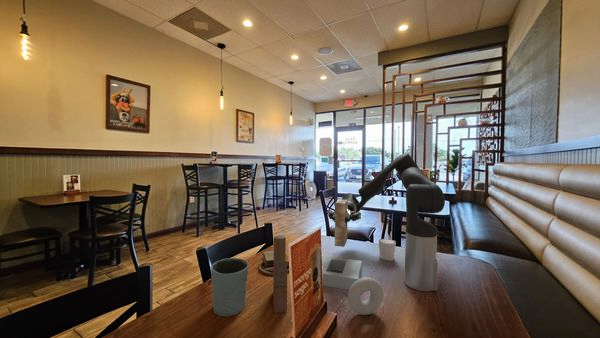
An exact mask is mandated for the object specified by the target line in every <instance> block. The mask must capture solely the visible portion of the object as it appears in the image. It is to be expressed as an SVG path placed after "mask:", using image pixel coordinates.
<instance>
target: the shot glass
mask: <svg viewBox="0 0 600 338" xmlns="http://www.w3.org/2000/svg"><path fill="white" fill-rule="evenodd" d="M396 245H397V242H396V240H393V239H390V238H381V239H378V248H379V251H378V252H379V258H380V259H381V258H382V260H385V261H394V260H395V251H396Z"/></svg>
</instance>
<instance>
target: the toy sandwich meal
mask: <svg viewBox="0 0 600 338" xmlns="http://www.w3.org/2000/svg"><path fill="white" fill-rule="evenodd" d="M288 258H289V257H288V255H287V254H286V261H287V273H288V272H289V271H290V270H289V261H290V260H289V261H288ZM260 260H261V261H262V262H261V263H260V264H259V265H258V266H259V267H258V268H259V270H260V271H261V272H262V273H263V274H266V275H270V276H273V272H274V249H273V250H267V251H263V253H262V257H261V259H260Z"/></svg>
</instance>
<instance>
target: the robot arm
mask: <svg viewBox="0 0 600 338" xmlns="http://www.w3.org/2000/svg"><path fill="white" fill-rule="evenodd" d="M394 170H395V171H396V173H397V174H398V175H399V177H400V178H401V183H402V186H403V187H404V189H405V208H406V209H405V210H406V211H405V212H406V215H405V216H406V217H405V218H406V219H405V225H406V226H405V247H404V248H405V250H404V251H405V254H404V283H405V285H406V286H408V287H409V288H410V289H413V290H416V291H420V292H432V291H434V292H436V291H437V289H438V269H439V267H438V265H439V263H438V260H437V252H438V251H437V247H438V226H436V225H435V224H434V223H431V222H429V221H427V220H423V219H422V218H420V217H419V216H418V213H420V214H439V213H441V212H442V211H443V209H444V208H445V206H446V197H445V194H444V191H443V190H442V189H441V187H440V186H439V184H437V183H435V182H433V181H432V180H431V179H430V178H429V177H428V176H427V174H426V173H425V172H424V171H423V170H422V169H420V168H419V166H418V164H417V163H416V162H415V160H414V159H413V158H412V155H410V154H409V153H406V152H405V153H401V154H400V155H399V156H397V157H396V158H394V159H393V160H392V161H391V162H390V163H389V164H388V165H386V166H385V167H384V168H383V169H382V170H381V171H380V172H379V173H378V174H377V175H376V176H374V178H373V179H371V180H370V181H369V182H367V183H366V184H364V185H362V186H361V187H360V188H359V189H358V191H357V193H358V194H359V197H360V201H359V199H358V198H356V196H355V195H354V194H353V193H351V192H348V193H345V194H344V195H343V196H342V197H341V199H343V200H348V212H347V215H346V217H345V223H347V224H348V223H349V222H351V221H352V222H357V221H358V220H361V218H362V212H361V210H362V209H363V207H364V206H365V205H366V204H367V203H368V202H369V201H370V200H372V199H373V198H374V197H375V196H376V195H378V194H379V193H380V192H382V190H383V188H384V186H385V184H386V181H387V179H388V177H389V176H390V174H391V173H392V171H394ZM327 217H328V218H329V220H332V221H333V222H334V223H335V210H334V211H333V210H331V209H328V210H327Z"/></svg>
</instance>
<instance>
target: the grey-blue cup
mask: <svg viewBox="0 0 600 338" xmlns="http://www.w3.org/2000/svg"><path fill="white" fill-rule="evenodd" d="M210 274H211V275H210V277H211V285H212V287H211V288H212V290H211V291H212V309H213V312H214V314H216V315H217V316H220V317H231V316H234V315H238V314H240V313H241V312H242V311H243V310H244V308H245V307H246V299H247V286H248V285H247V284H248V283H247V281H248V274H249V261H247V260H245V259H243V258H239V257H238V258H237V257H229V258H223V259H220V260H217V261H215V262H213V263H212V264H211V266H210Z"/></svg>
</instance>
